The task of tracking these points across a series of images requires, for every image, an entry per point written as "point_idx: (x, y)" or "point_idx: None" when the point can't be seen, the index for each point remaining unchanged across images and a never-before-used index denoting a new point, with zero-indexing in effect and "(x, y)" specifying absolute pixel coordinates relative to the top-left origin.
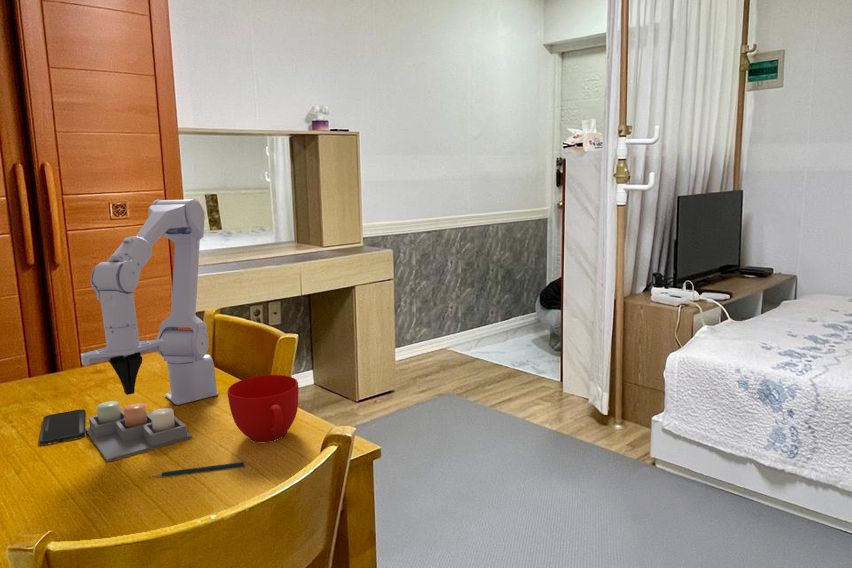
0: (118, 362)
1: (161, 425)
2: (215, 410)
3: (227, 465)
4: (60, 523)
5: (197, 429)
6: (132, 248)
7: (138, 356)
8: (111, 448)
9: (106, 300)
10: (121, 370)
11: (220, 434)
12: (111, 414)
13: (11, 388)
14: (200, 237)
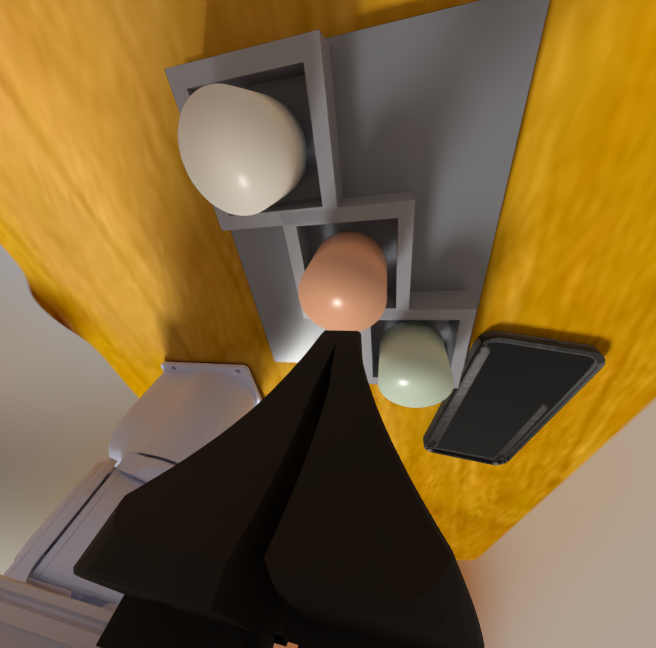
0: (380, 630)
1: (258, 93)
2: (153, 284)
3: None
4: None
5: (179, 166)
6: None
7: (136, 597)
8: (473, 145)
9: None
10: (367, 479)
11: (81, 39)
12: (414, 340)
13: (477, 552)
14: None
